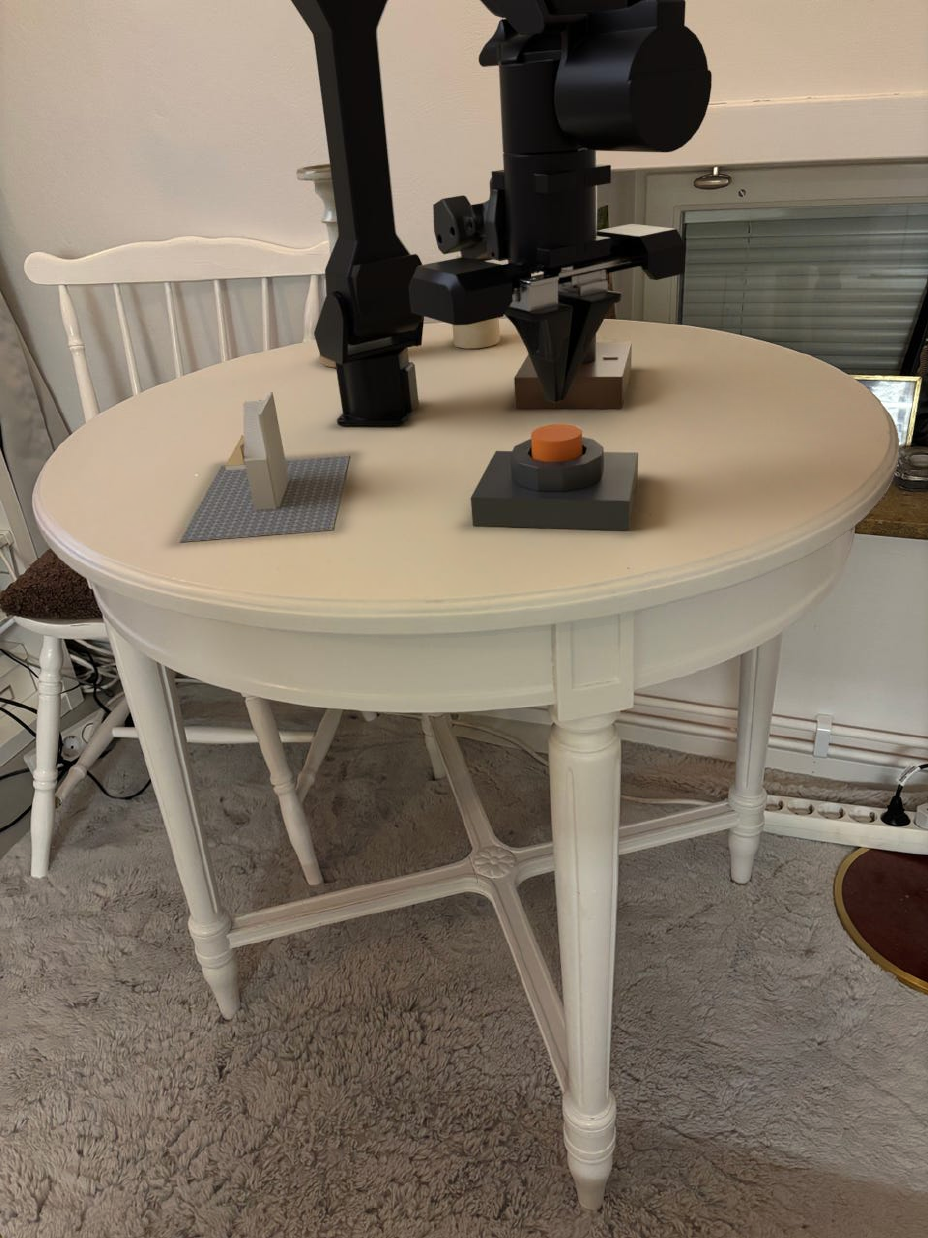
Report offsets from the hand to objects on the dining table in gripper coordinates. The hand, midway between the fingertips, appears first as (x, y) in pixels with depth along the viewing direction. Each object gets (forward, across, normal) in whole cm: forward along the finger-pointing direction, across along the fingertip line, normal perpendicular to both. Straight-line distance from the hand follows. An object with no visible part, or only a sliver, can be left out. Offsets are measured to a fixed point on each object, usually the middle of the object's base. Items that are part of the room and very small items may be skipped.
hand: (555, 400), depth 63 cm
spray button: (+4, 0, 0) cm, 4 cm away
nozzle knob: (+5, -18, -20) cm, 27 cm away
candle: (+8, -22, -42) cm, 48 cm away
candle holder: (+8, -8, -48) cm, 49 cm away
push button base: (+8, 0, 0) cm, 8 cm away
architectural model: (+8, +16, -17) cm, 24 cm away
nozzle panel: (+8, -18, -20) cm, 28 cm away
